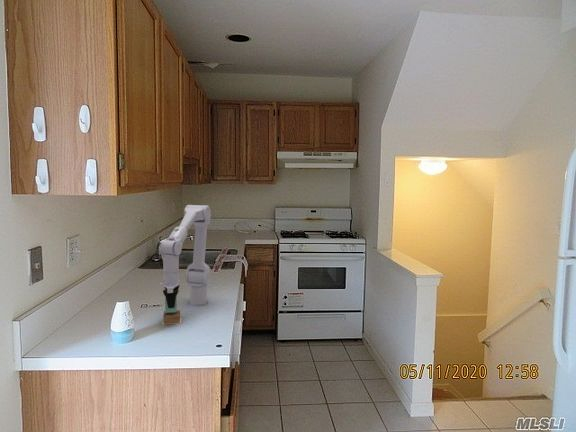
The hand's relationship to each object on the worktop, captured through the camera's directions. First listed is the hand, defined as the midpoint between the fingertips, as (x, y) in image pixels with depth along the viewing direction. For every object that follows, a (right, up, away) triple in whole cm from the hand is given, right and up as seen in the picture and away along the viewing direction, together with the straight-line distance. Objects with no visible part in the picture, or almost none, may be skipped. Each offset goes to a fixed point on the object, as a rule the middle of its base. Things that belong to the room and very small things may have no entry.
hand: (171, 305), depth 152 cm
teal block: (0, -2, 0) cm, 2 cm away
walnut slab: (0, -6, +1) cm, 6 cm away
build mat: (-3, -6, +4) cm, 8 cm away
